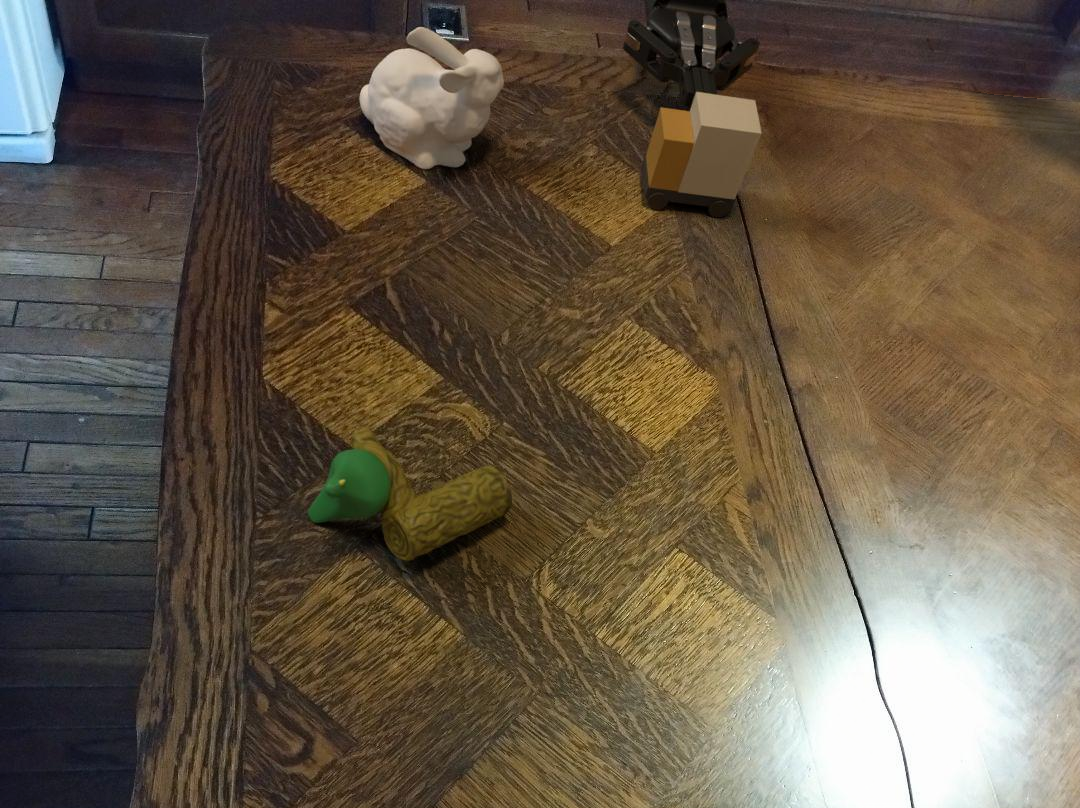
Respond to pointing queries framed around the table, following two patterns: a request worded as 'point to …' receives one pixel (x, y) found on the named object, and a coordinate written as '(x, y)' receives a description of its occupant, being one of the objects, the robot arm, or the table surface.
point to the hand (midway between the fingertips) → (700, 105)
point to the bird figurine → (407, 498)
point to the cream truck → (701, 153)
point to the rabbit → (431, 99)
